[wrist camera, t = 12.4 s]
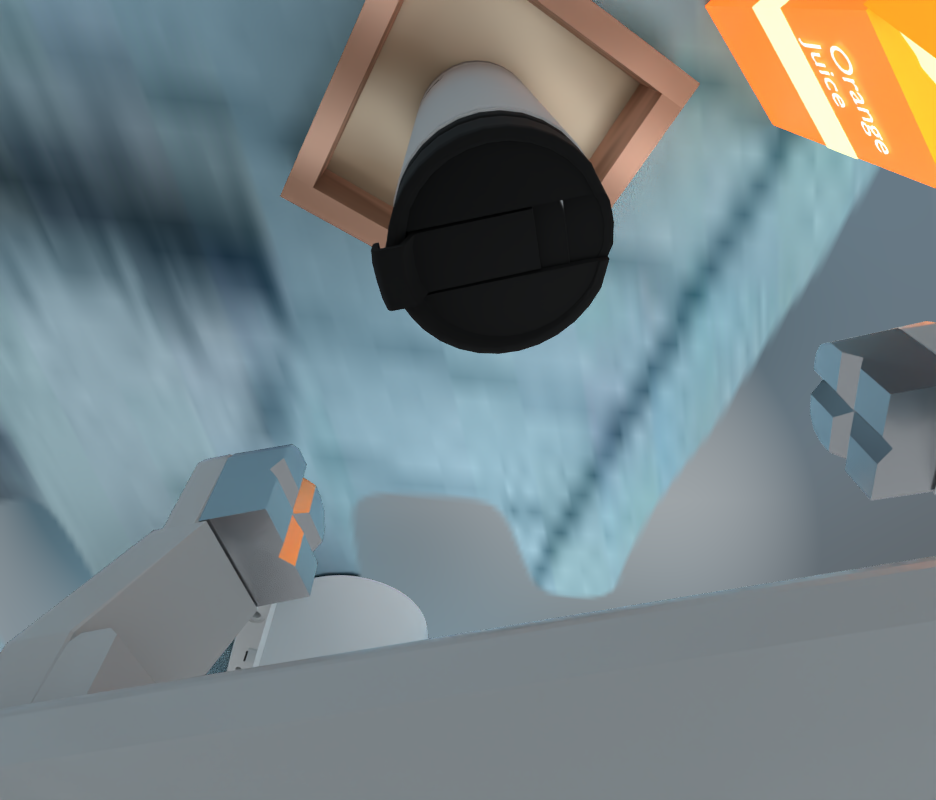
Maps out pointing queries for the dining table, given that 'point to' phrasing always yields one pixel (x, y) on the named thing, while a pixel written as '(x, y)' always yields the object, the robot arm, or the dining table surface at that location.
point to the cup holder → (486, 39)
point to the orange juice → (843, 73)
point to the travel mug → (493, 217)
